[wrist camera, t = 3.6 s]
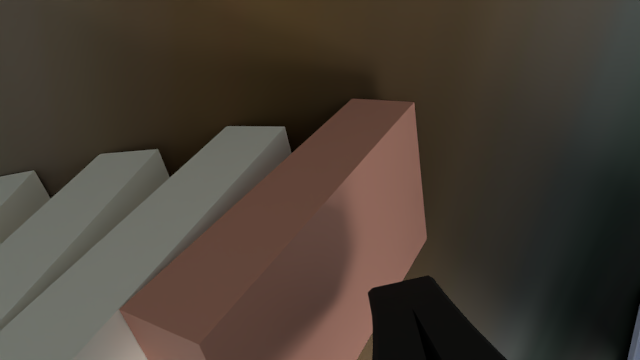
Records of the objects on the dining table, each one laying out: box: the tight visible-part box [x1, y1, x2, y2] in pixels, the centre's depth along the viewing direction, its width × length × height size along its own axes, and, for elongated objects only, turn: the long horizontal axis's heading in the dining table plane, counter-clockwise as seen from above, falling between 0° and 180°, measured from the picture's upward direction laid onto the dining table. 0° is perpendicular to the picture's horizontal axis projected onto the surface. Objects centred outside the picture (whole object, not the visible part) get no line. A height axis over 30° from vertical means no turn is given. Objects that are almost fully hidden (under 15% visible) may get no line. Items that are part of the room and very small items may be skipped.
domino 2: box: [0, 126, 291, 360], centre depth 12 cm, size 2×5×9 cm, turn 11°
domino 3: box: [119, 99, 427, 360], centre depth 12 cm, size 2×5×9 cm
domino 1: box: [0, 149, 170, 331], centre depth 12 cm, size 2×5×9 cm, turn 11°
